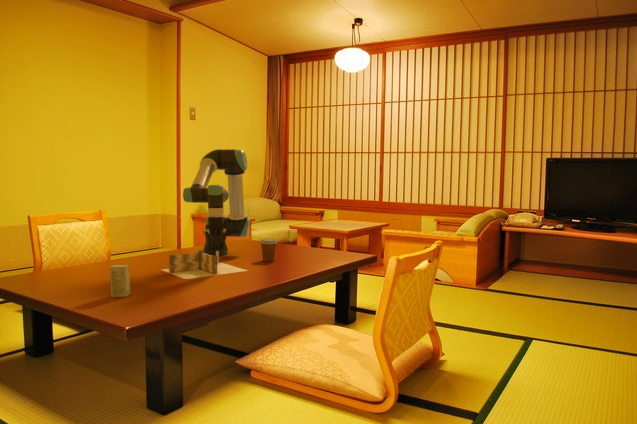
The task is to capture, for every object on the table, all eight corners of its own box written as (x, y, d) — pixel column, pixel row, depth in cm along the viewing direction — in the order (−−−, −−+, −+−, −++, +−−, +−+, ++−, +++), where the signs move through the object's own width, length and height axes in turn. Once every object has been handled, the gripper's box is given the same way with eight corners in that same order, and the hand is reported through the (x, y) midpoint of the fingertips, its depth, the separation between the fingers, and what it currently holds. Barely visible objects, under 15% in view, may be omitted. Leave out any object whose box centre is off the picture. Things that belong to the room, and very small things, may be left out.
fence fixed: (202, 268, 257) (201, 250, 256) (204, 269, 255) (204, 250, 254) (169, 272, 245) (168, 253, 245) (171, 273, 244) (170, 254, 243)
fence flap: (200, 268, 253) (200, 251, 253) (203, 268, 255) (203, 251, 254) (213, 273, 242) (213, 256, 241) (217, 273, 243) (217, 255, 242)
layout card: (160, 270, 252) (160, 269, 252) (220, 263, 274) (220, 262, 274) (185, 280, 230) (185, 279, 230) (248, 271, 252) (248, 270, 252)
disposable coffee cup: (276, 262, 279) (276, 240, 279) (259, 261, 280) (259, 240, 279) (277, 259, 289) (277, 238, 288) (261, 258, 289) (261, 238, 288)
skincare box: (130, 294, 202) (129, 264, 201) (126, 297, 198) (126, 266, 197) (114, 294, 202) (113, 264, 201) (110, 297, 198) (109, 266, 197)
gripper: (223, 215, 252) (223, 261, 254) (200, 216, 244) (200, 264, 246) (231, 216, 247) (231, 263, 249) (207, 217, 238) (208, 266, 240)
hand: (216, 263), depth 247 cm, fingers closed
